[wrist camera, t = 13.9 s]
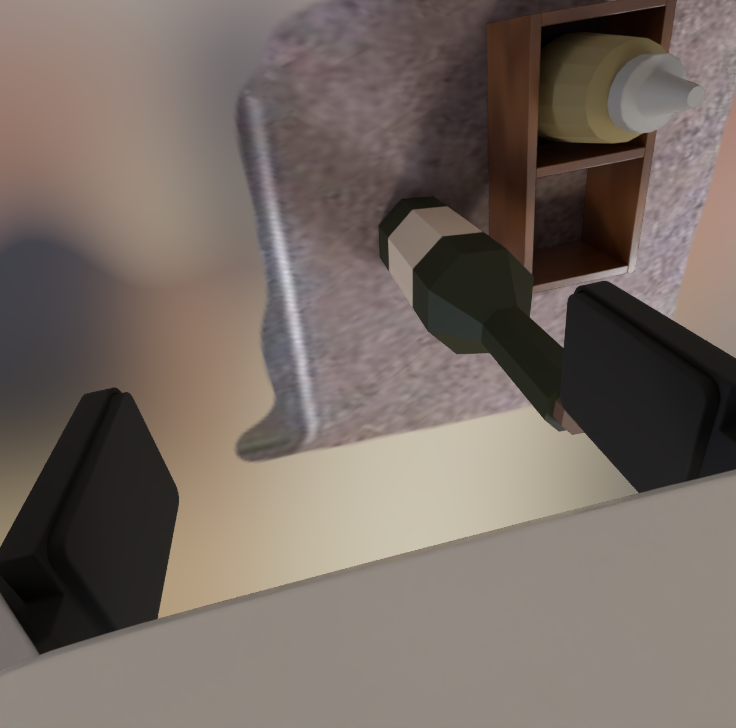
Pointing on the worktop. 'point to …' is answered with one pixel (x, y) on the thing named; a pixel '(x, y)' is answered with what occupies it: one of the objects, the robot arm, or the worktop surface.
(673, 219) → the worktop surface
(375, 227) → the worktop surface
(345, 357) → the worktop surface
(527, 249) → the bottle rack
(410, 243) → the wine bottle
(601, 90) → the squeeze bottle
